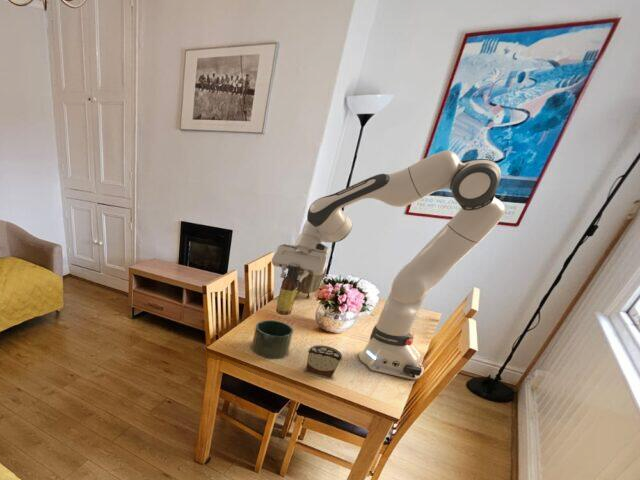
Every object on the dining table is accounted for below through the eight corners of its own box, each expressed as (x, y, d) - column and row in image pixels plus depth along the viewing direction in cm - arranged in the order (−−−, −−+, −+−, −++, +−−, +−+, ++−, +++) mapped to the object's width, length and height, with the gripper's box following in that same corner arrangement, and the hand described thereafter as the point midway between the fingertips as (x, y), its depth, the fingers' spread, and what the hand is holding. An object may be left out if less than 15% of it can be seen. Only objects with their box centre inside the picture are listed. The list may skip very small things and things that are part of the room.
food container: (337, 372, 152) (345, 349, 147) (335, 379, 148) (343, 357, 142) (304, 363, 158) (310, 341, 152) (301, 370, 153) (307, 348, 147)
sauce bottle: (293, 316, 159) (306, 267, 148) (277, 315, 159) (289, 267, 148) (288, 309, 164) (300, 262, 153) (273, 308, 165) (284, 262, 153)
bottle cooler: (292, 348, 168) (298, 327, 162) (279, 362, 158) (285, 340, 153) (260, 337, 175) (264, 317, 169) (245, 350, 166) (250, 329, 160)
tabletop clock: (305, 291, 218) (317, 245, 203) (319, 296, 212) (333, 249, 198) (289, 297, 211) (300, 250, 197) (303, 303, 205) (317, 255, 191)
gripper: (279, 238, 156) (263, 269, 156) (332, 248, 146) (316, 281, 145) (281, 247, 162) (266, 277, 161) (332, 257, 151) (317, 289, 151)
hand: (290, 279), depth 153 cm, fingers closed on sauce bottle, 5 cm apart
